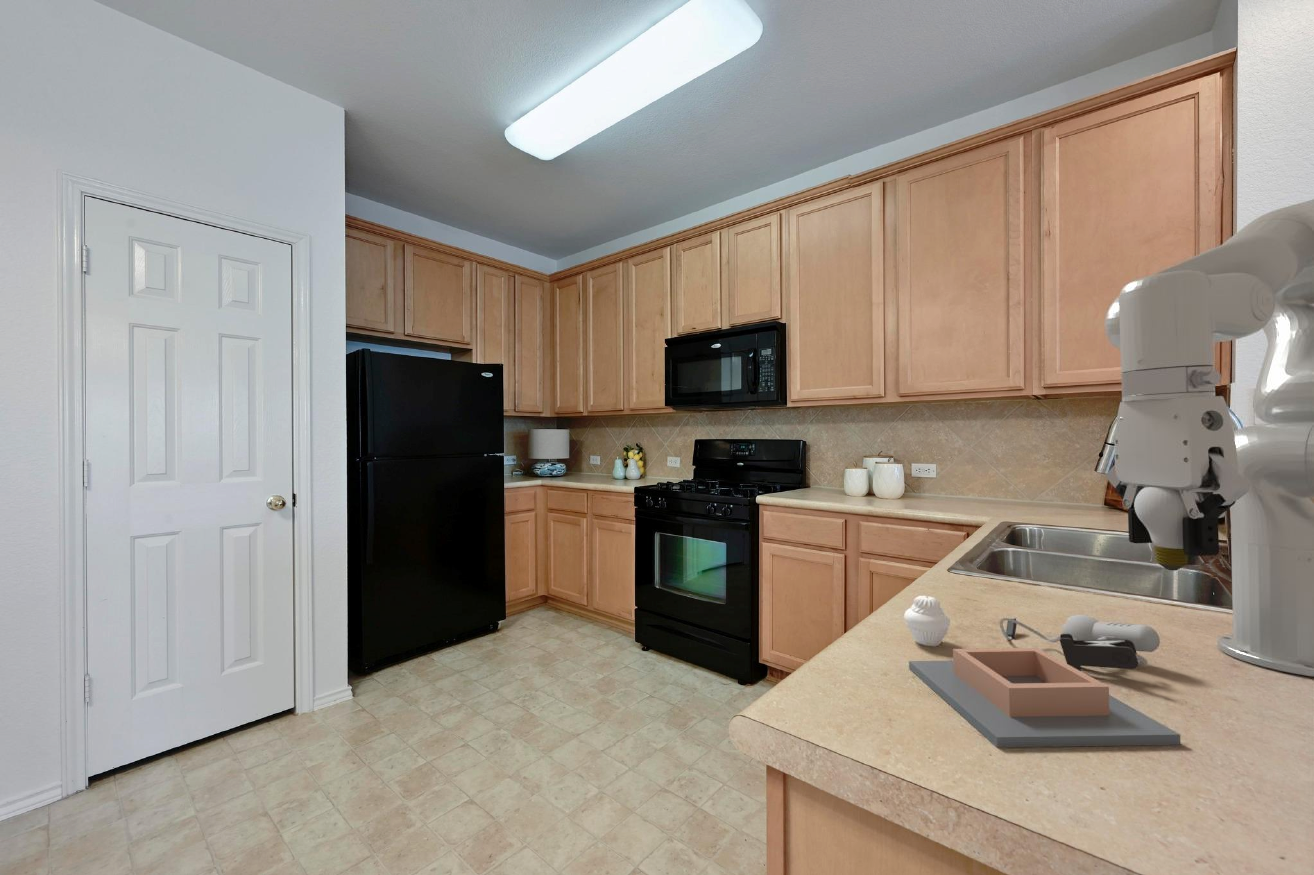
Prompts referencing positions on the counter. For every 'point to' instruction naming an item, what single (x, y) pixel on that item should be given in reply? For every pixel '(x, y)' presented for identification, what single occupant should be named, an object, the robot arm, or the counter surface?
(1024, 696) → the holder board
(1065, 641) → the clip-on lamp
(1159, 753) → the counter surface
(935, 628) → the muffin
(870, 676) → the counter surface
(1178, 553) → the light bulb
